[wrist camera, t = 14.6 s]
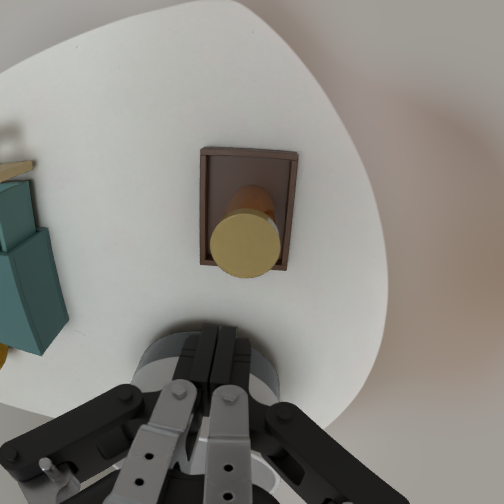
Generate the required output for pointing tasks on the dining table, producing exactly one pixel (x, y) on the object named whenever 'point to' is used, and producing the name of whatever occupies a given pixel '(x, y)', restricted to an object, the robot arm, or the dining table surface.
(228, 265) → the honey jar
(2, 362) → the apple
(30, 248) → the cabinet
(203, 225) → the tray
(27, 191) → the drawer
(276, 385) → the planter
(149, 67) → the dining table surface
